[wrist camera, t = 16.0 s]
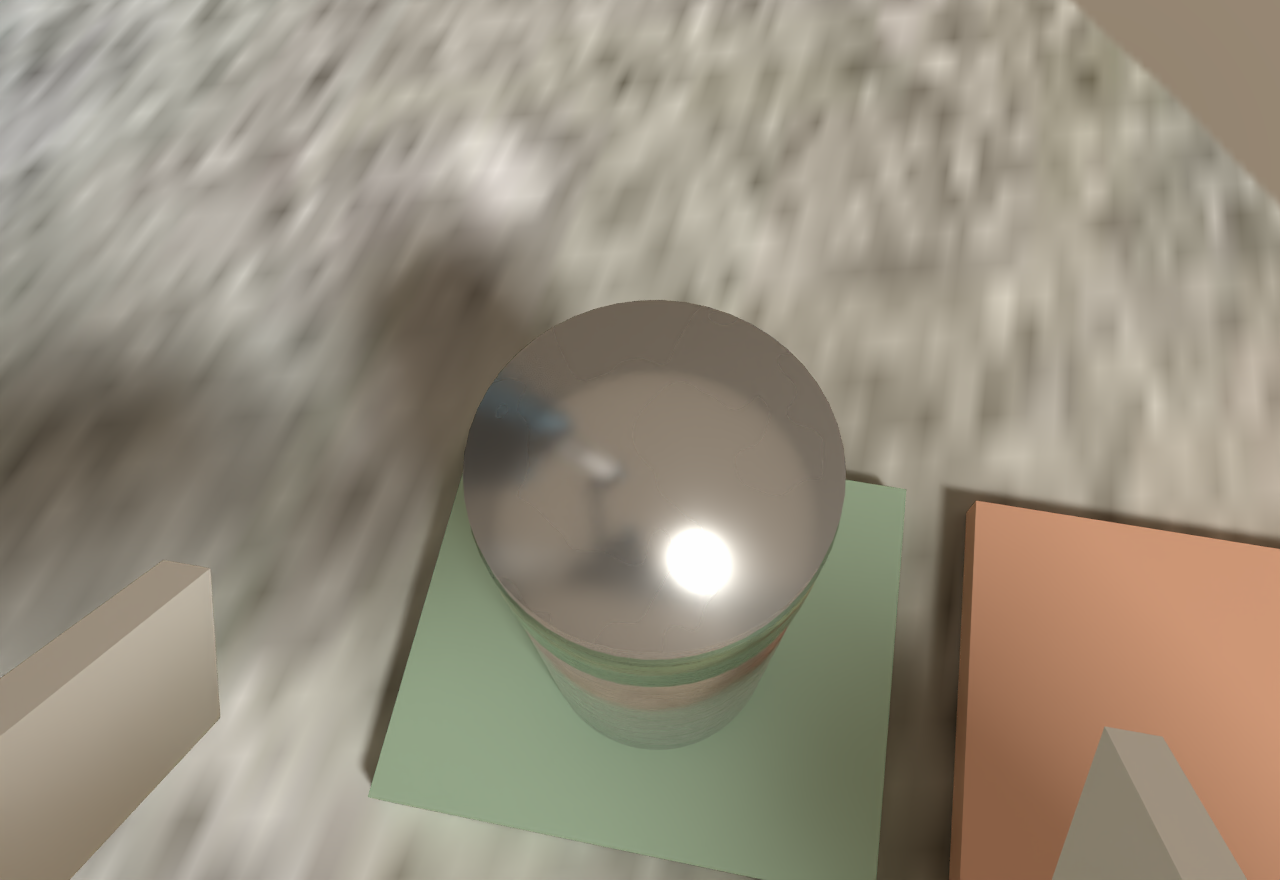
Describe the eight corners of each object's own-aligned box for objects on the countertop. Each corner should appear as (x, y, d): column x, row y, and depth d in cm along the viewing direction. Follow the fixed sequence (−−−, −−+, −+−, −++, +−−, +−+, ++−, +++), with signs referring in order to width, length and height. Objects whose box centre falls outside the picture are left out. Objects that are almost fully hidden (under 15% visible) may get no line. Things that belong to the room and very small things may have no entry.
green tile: (483, 434, 29) (478, 420, 28) (898, 501, 28) (906, 489, 27) (379, 799, 25) (367, 796, 24) (866, 901, 23) (874, 902, 23)
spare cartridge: (572, 514, 27) (512, 274, 16) (781, 550, 26) (865, 327, 15) (522, 727, 24) (411, 614, 14) (751, 772, 24) (827, 692, 13)
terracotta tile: (966, 512, 28) (976, 500, 27) (1433, 587, 26) (1460, 578, 25) (947, 918, 23) (958, 920, 22) (1508, 1035, 22) (1545, 1042, 21)
